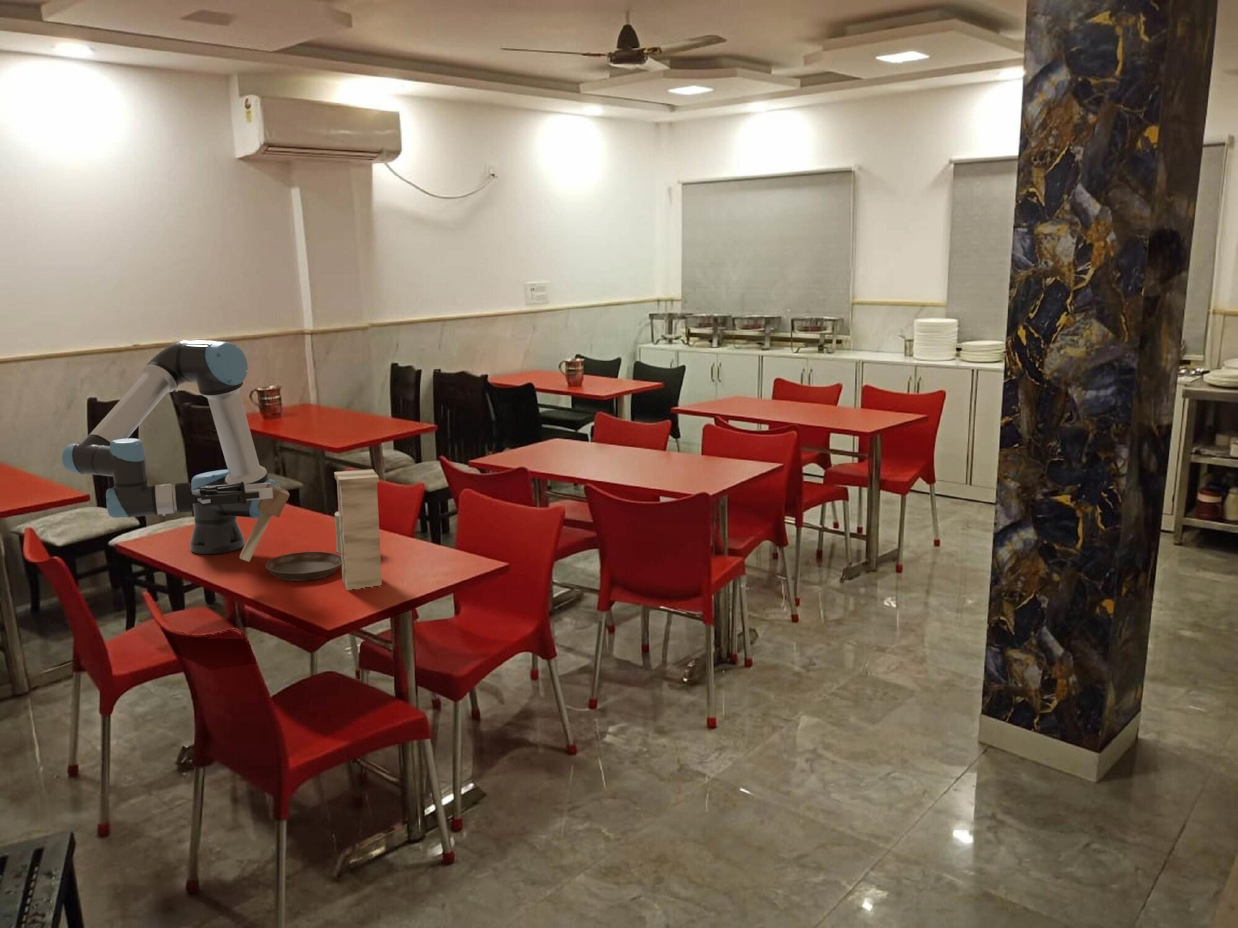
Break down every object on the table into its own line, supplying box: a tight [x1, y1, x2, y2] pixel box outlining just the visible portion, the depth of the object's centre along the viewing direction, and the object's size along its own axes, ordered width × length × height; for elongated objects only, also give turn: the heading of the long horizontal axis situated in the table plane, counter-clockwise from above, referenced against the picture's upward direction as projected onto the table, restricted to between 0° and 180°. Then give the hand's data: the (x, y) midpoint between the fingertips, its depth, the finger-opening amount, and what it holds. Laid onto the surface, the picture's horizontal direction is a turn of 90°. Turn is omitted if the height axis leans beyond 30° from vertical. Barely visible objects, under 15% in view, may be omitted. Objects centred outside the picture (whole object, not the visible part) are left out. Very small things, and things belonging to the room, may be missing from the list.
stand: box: [333, 468, 383, 591], centre depth 262 cm, size 10×10×30 cm
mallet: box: [239, 483, 290, 562], centre depth 259 cm, size 6×20×6 cm
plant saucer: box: [265, 551, 342, 582], centre depth 274 cm, size 21×21×3 cm
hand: (271, 490), depth 259 cm, fingers closed on mallet, 5 cm apart
